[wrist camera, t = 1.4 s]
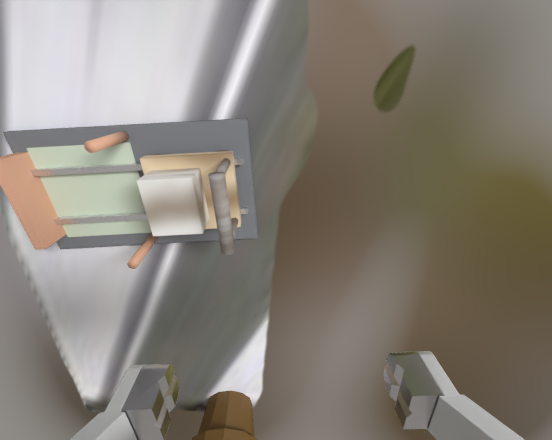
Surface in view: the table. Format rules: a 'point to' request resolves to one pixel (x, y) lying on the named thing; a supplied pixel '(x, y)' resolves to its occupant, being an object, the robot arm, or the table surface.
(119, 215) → the rails
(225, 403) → the flowerpot
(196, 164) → the tan box with handle
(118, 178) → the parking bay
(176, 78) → the table surface
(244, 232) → the dock mat
